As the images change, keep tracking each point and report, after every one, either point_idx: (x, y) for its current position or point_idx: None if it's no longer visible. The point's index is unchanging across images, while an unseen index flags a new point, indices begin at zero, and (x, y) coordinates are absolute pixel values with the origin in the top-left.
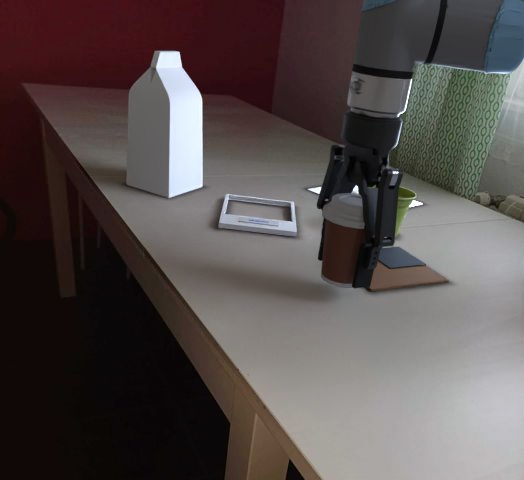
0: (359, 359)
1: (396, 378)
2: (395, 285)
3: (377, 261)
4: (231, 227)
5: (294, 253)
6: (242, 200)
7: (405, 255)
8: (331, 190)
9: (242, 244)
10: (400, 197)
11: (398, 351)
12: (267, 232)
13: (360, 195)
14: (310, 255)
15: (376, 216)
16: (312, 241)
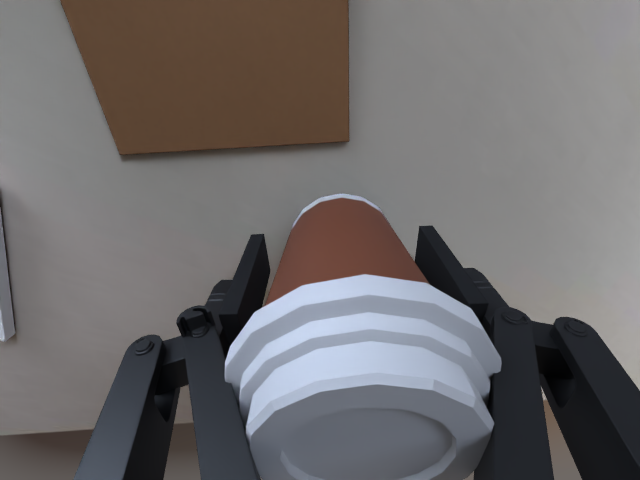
0: (543, 292)
1: (614, 267)
2: (343, 45)
3: (488, 282)
4: (9, 316)
5: (125, 230)
6: None
7: None
8: (156, 445)
9: (98, 314)
10: None
11: (569, 223)
12: (3, 251)
13: (291, 422)
14: (130, 196)
15: (582, 469)
16: (13, 144)
